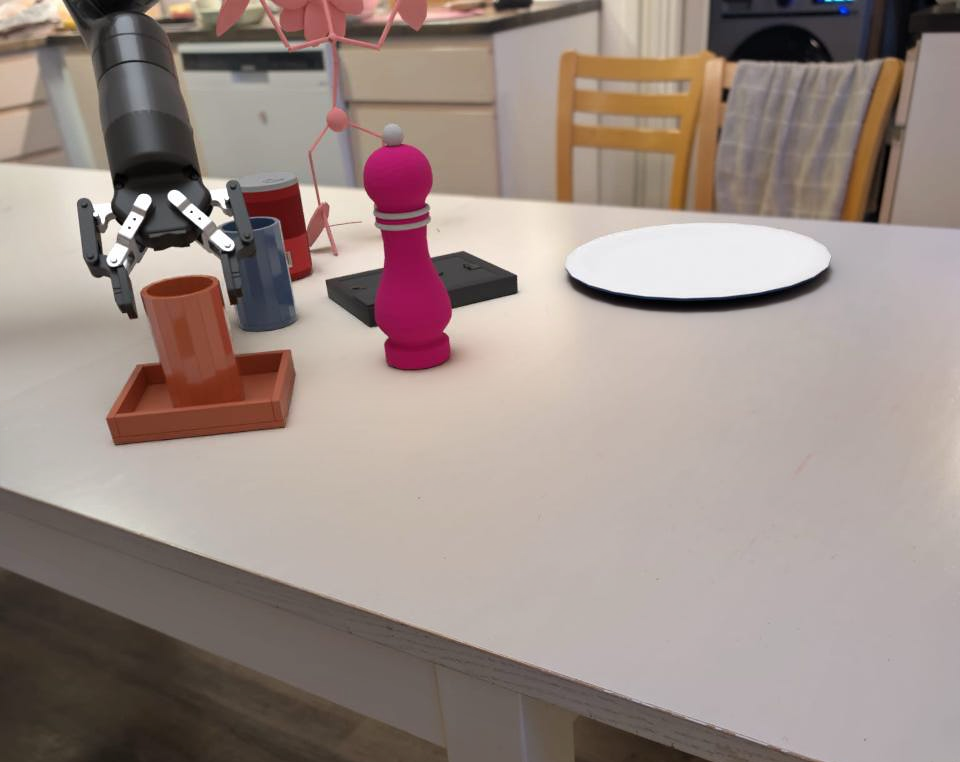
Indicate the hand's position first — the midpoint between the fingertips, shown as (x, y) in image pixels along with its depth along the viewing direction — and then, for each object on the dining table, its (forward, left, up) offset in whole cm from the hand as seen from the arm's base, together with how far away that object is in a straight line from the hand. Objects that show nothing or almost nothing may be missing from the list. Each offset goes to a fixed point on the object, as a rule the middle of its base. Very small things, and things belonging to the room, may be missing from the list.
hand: (183, 307), depth 80 cm
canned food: (+3, +40, -9) cm, 41 cm away
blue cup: (+3, +22, -8) cm, 24 cm away
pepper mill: (+19, +6, -9) cm, 22 cm away
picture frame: (+20, +26, -9) cm, 34 cm away
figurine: (+11, +55, -9) cm, 57 cm away
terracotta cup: (0, -1, -8) cm, 8 cm away
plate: (+51, +25, -9) cm, 58 cm away
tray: (0, -1, -8) cm, 9 cm away
